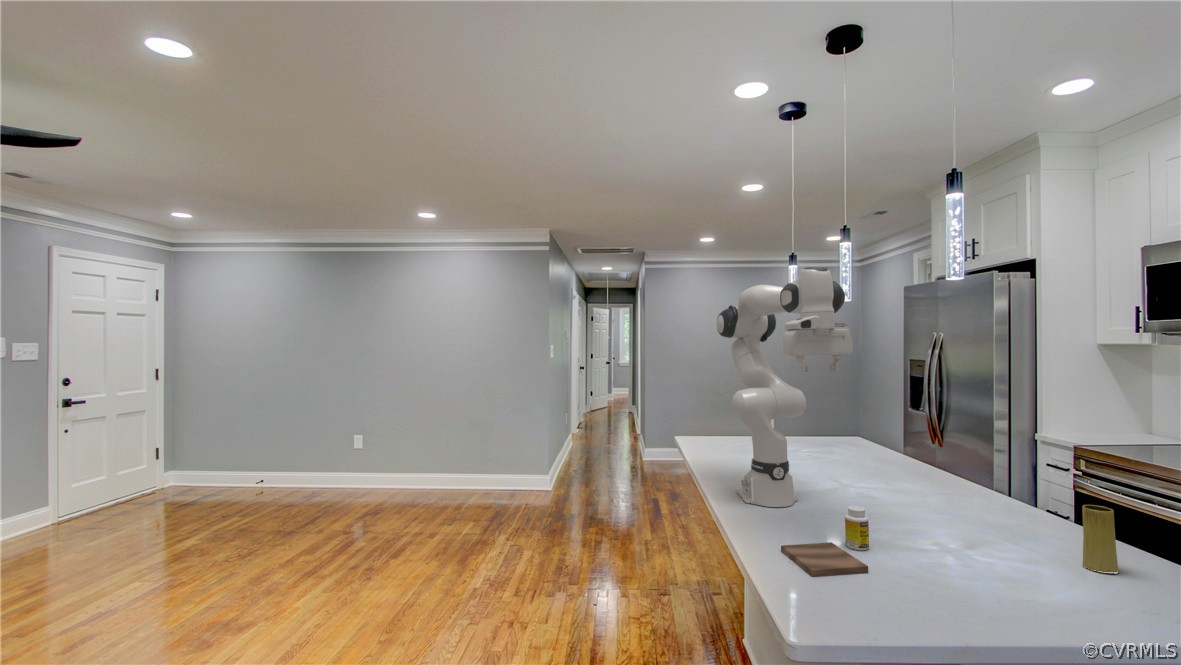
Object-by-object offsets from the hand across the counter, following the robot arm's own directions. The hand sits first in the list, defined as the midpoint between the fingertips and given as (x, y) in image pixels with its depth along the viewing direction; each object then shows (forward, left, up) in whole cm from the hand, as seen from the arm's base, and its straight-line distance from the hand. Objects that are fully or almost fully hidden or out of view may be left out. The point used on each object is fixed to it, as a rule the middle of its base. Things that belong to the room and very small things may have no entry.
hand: (819, 371), depth 147 cm
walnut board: (+16, -10, -46) cm, 50 cm away
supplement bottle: (+9, +4, -46) cm, 47 cm away
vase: (+30, +51, -46) cm, 75 cm away
